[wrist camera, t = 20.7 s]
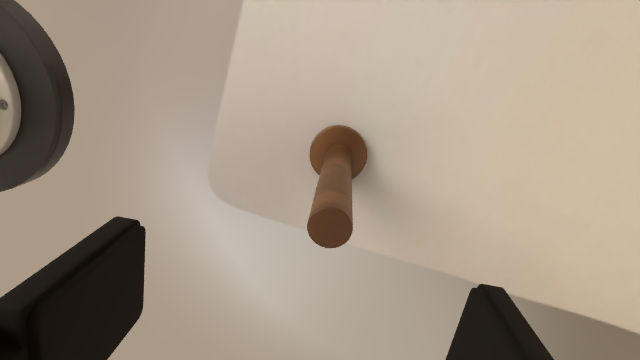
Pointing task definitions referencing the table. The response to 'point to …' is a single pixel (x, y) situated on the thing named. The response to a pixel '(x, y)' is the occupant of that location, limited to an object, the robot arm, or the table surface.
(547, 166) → the table surface
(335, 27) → the table surface
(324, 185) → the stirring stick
